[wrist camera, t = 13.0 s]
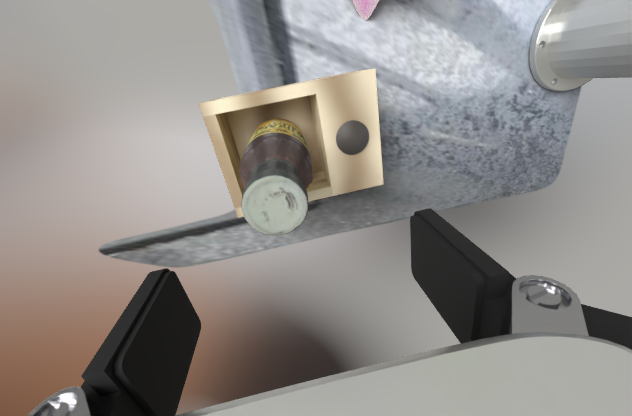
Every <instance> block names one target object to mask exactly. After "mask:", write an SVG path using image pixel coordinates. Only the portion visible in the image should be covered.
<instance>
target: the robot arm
mask: <svg viewBox="0 0 632 416" xmlns="http://www.w3.org/2000/svg"><path fill="white" fill-rule="evenodd" d="M529 61H530V68H531V71H532V74H533V77H534V78H535V80H536V81H537V83H539V84H540V85H541V86H542V87H544V88H546V89H548V90H554V91H567V90H572V89H575V88H577V87H580V86H582V85H584V84H585V83H587V82H589V81H590V80H591V79H593V78H612V77H615V78H617V77H632V0H552V1H551V2H550V3H549V5H548V6H547V7H546V9H545V11H544V12H543V14H542V15H541V17H540V19H539V21H538V23H537V25H536V27H535V30H534V33H533V36H532V40H531V45H530V56H529ZM410 223H411V224H410V225H411V262H412V263H411V267H412V273H413V276H414V278H415V280H416V281H417V282H418V284H419V285H420V287H421V288H422V290H423V291H424V292H425V294H426V295H427V297H428V298H429V299H430V301H431V302H432V303H433V305H434V306H435V308H436V309H437V311H438V312H439V313H440V315H441V316H442V318H443V319H444V320H445V322H446V323H447V325H448V326H449V327H450V329H451V330H452V332H453V333H454V334H455V336H456V337H457V338H458V340H459V341H460V343H461V344H458V345H453V346H449V347H444V348H440V349H436V350H431V351H427V352H424V353H419V354H415V355H412V356H407V357H403V358H399V359H395V360H391V361H387V362H383V363H379V364H375V365H371V366H367V367H363V368H359V369H355V370H351V371H347V372H343V373H340V374H335V375H331V376H327V377H323V378H320V379H316V380H312V381H307V382H304V383H300V384H296V385H292V386H288V387H284V388H280V389H276V390H272V391H269V392H264V393H261V394H257V395H253V396H249V397H245V398H241V399H237V400H233V401H230V402H226V403H222V404H218V405H214V406H210V407H207V408H203V409H199V410H195V411H191V412H188V413H184V414H180V415H176V416H632V317H628V316H624V315H621V314H617V313H613V312H609V311H606V310H602V309H598V308H594V307H590V306H586V305H583V304H581V303H580V300H579V298H578V296H577V294H575V293H574V292H573V291H572V290H571V289H570V288H569V287H567V286H566V285H564V284H562V283H560V282H558V281H556V280H553V279H550V278H546V277H543V276H534V275H531V276H523V277H520V278H517V279H516V278H515V277H514V276H512V275H511V274H510V273H509V272H508V271H507V270H506V269H504V268H503V267H502V266H501V265H500V264H498V263H497V262H496V261H495V260H493V259H492V258H491V257H490V256H488V255H487V254H486V253H485V252H483V251H482V250H481V249H480V248H479V247H477V246H476V245H475V244H474V243H472V242H471V241H470V240H469V239H468V238H466V237H465V236H464V235H463V234H461V233H460V232H459V231H457V230H456V229H455V228H454V227H453V226H452V225H450V224H449V223H448V222H446V221H445V220H444V219H443V218H442V217H440V216H439V215H438V214H437V213H436V212H434V211H433V210H432V209H425V210H421V211H416V212H415V213H414V216H411V218H410ZM200 330H201V322H200V320H199V317H198V315H197V313H196V312H195V310H194V308H193V306H192V304H191V302H190V300H189V298H188V296H187V294H186V293H185V290H184V289H183V287H182V285H181V283H180V281H179V279H178V277H177V275H176V273H175V272H174V271H170V270H169V269H162V270H157V271H153V272H150V273H149V274H148V275H147V277H146V279H145V280H144V281H143V283H142V284H141V286H140V288H139V289H138V291H137V292H136V294H135V295H134V297H133V298H132V300H131V301H130V303H129V304H128V306H127V307H126V309H125V310H124V312H123V313H122V315H121V317H120V318H119V320H118V321H117V323H116V324H115V326H114V327H113V329H112V330H111V332H110V333H109V335H108V336H107V338H106V339H105V341H104V343H103V344H102V345H101V347H100V349H99V350H98V352H97V353H96V355H95V356H94V358H93V359H92V361H91V363H90V364H89V365H88V367H87V369H86V370H85V372H84V373H83V374H82V377H83V379H84V380H85V381H84V383H83V384H82V386H81V388H80V387H69V388H66V389H63V390H61V391H59V392H57V393H55V394H54V395H52V396H50V397H49V398H47V399H46V400H45V401H43V402H42V403H41V404H40V405H38V406H37V407H36V408H35V409H34V410H33V411H32V412H31V413H30V414H29V415H28V416H175V414H176V411H177V408H178V404H179V401H180V397H181V394H182V390H183V387H184V384H185V380H186V377H187V374H188V371H189V367H190V364H191V360H192V357H193V354H194V350H195V347H196V344H197V340H198V337H199V334H200Z"/></svg>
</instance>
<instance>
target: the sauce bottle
mask: <svg viewBox="0 0 632 416" xmlns="http://www.w3.org/2000/svg"><path fill="white" fill-rule="evenodd" d="M239 171H240V175H241V178H242V182H243V184H244V187H245V189H244V191H243V196H242V201H241V208H242V212H243V215H244V218H245V219H246V221H247V222H248V223H249V225H250V226H251V227H253V228H254V229H255V230H257V231H259V232H261V233H263V234H267V235H284V234H287V233H289V232H292V231H293V230H295V229H296V228H297V227H299V225H300V224H301V223H302V222H303V221H304V219H305V217H306V215H307V211H308V194H307V190H306V189H307V188H308V186H309V184H310V183H312V180H313V174H312V161H311V155H310V152H309V149H308V147H307V144H306V142H305V139H304V137H303V135H302V132H301V131H300V129H299V128H298V127H297V126H296V125H295V124H294V123H292V122H290V121H288V120H286V119H282V118H273V119H269V120H266V121H265V122H263V123H262V124H260V125H259V126H258V128H257V129H256V131H255V132H254V134H253V136H252V138H251V140H250V142H249V143H248V145H247V147H246V149H245V151H244V155H243V158H242V161H241V165H240V168H239Z"/></svg>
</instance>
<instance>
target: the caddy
mask: <svg viewBox="0 0 632 416" xmlns="http://www.w3.org/2000/svg"><path fill="white" fill-rule="evenodd" d="M199 107H200V110H201V113H202V115H203V118H204V121H205V124H206V127H207V130H208V132H209V136H210V138H211V141H212V144H213V147H214V150H215V153H216V156H217V158H218V161H219V164H220V167H221V170H222V173H223V176H224V179H225V181H226V184H227V187H228V190H229V193H230V196H231V199H232V201H233V204H234V207H235V210H236V213H237V216H238V218H239V217H243V216H244V215H243V212H242V208H241V201H242V196H243V191H244V189H245V187H244V184H243V182H242V178H241V175H240V171H239V168H240V165H241V161H242V158H243V155H244V151H245V149H246V147H247V145H248V143H249V142H250V140H251V138H252V136H253V134H254V132H255V131H256V129H257V128H258V126H259V125H260V124H262V123H263V122H265V121H266V120H269V119H273V118H282V119H286V120H288V121H290V122H292V123H294V124H295V125H296V126H297V127H298V128H299V129H300V131H301V132H302V135H303V137H304V139H305V142H306V144H307V147H308V149H309V152H310V155H311V161H312V174H313V180H312V183H310V184H309V186H308V188H307V189H306V190H307V194H308V202H309V201H313V200H318V199H322V198H326V197H331V196H335V195H340V194H344V193H348V192H353V191H357V190H361V189H366V188H370V187H374V186H379V185H383V170H382V156H381V142H380V127H379V113H378V99H377V85H376V71H375V69H368V70H361V71H354V72H349V73H344V74H339V75H334V76H329V77H324V78H319V79H314V80H309V81H304V82H299V83H294V84H289V85H284V86H279V87H274V88H269V89H264V90H259V91H254V92H249V93H244V94H239V95H234V96H229V97H224V98H220V99H214V100H210V101H207V102H203V103H200V104H199Z"/></svg>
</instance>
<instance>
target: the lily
mask: <svg viewBox="0 0 632 416" xmlns="http://www.w3.org/2000/svg"><path fill="white" fill-rule="evenodd" d="M352 1H353V3H354V6H355V8H356V10H357V12H358V14H359V15H360V17H361V18H362V19H364V20H367V19H368V18H369V17H370V16H371V14H372V13H373V11H374V9H375V7H376V5H377V3H378V2H379V0H352Z"/></svg>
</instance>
